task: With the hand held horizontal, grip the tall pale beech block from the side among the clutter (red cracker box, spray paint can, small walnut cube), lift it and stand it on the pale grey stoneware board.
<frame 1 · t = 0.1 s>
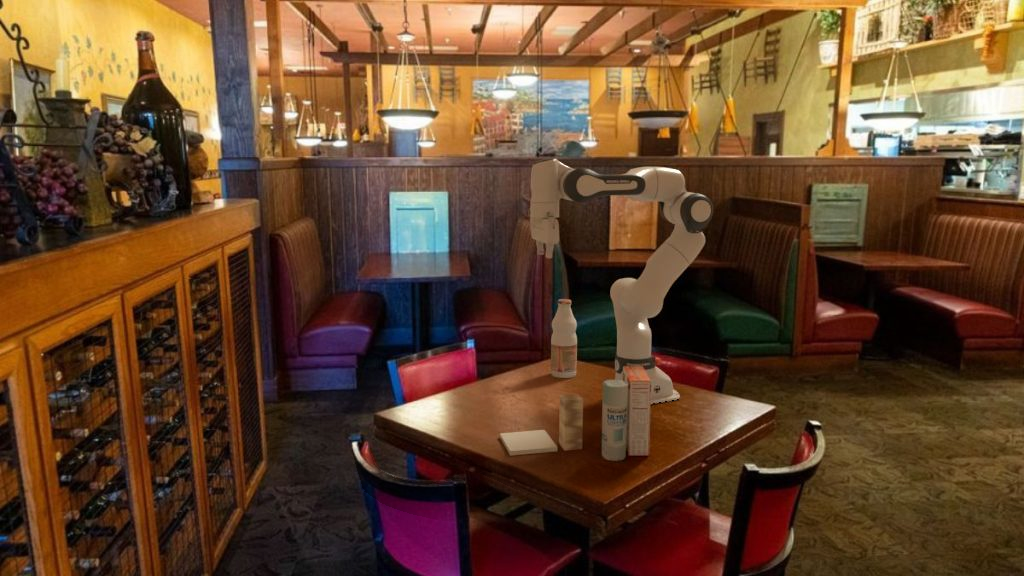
hand: (544, 256, 220), 48 cm above the table, tool pointing down, fingers open, 8 cm apart
board: (527, 444, 194), on the table
spray paint can: (613, 456, 186), on the table
cracker box: (634, 447, 193), on the table
fruit juice: (563, 375, 259), on the table
walnut cube: (615, 431, 204), on the table
beech block: (570, 446, 193), on the table
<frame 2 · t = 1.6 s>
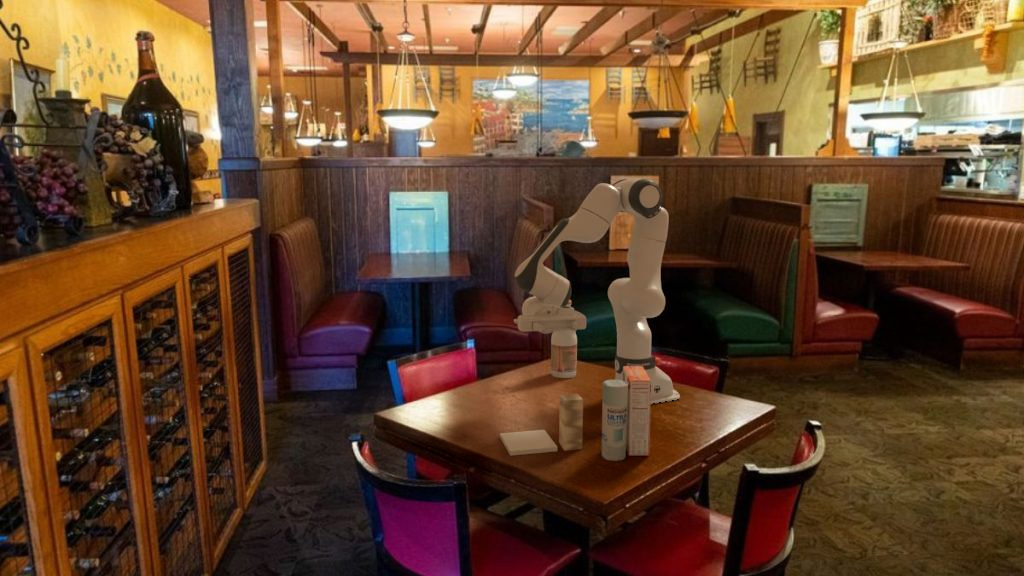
hand: (559, 328, 199), 30 cm above the table, tool horizontal, fingers open, 8 cm apart
nothing on the table moved.
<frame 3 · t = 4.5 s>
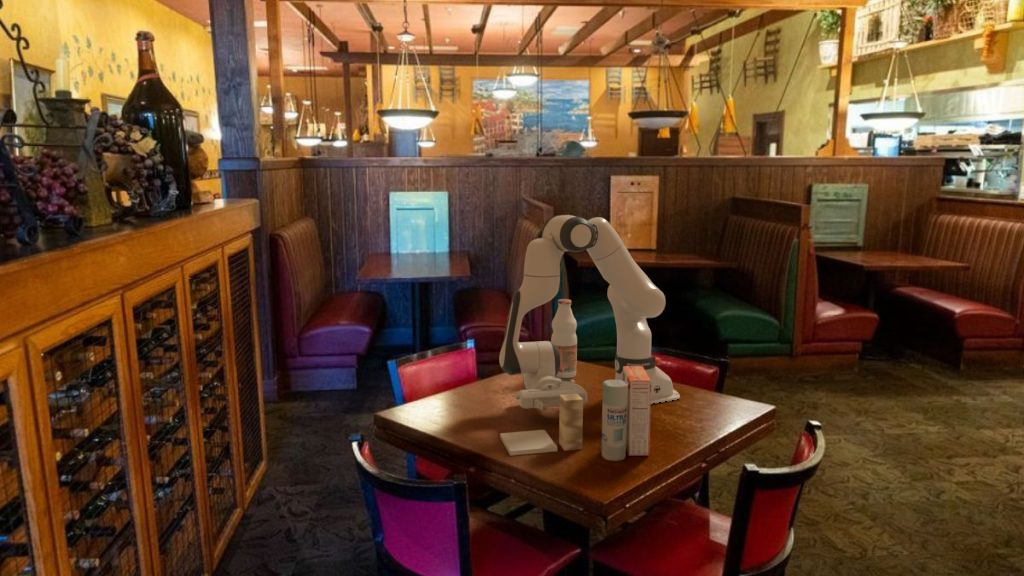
hand: (560, 406, 201), 8 cm above the table, tool horizontal, fingers open, 8 cm apart
nothing on the table moved.
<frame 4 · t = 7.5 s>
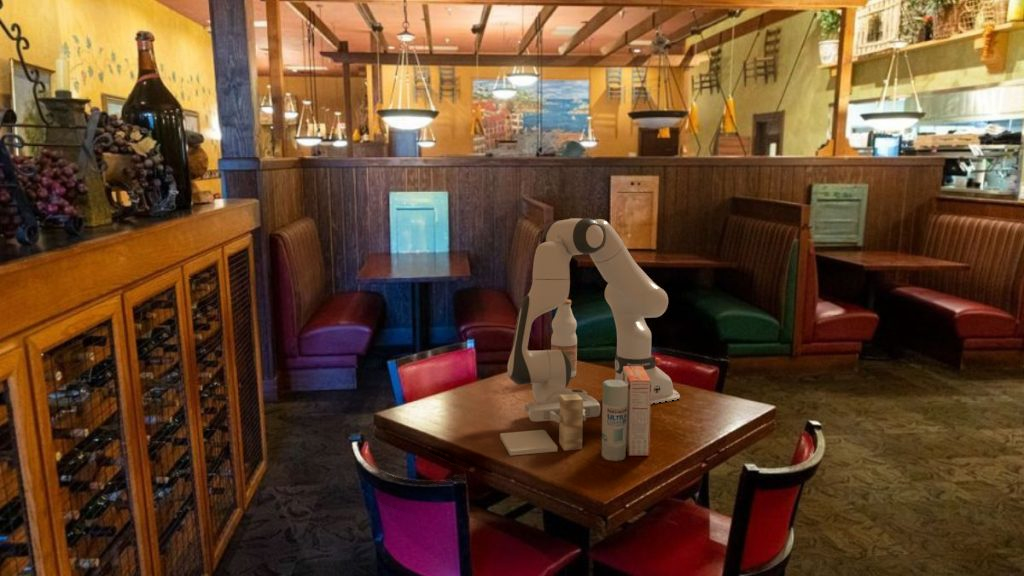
hand: (572, 419, 191), 8 cm above the table, tool horizontal, fingers closed on beech block, 5 cm apart
beech block: (570, 446, 193), on the table, touching gripper
everything else where it was.
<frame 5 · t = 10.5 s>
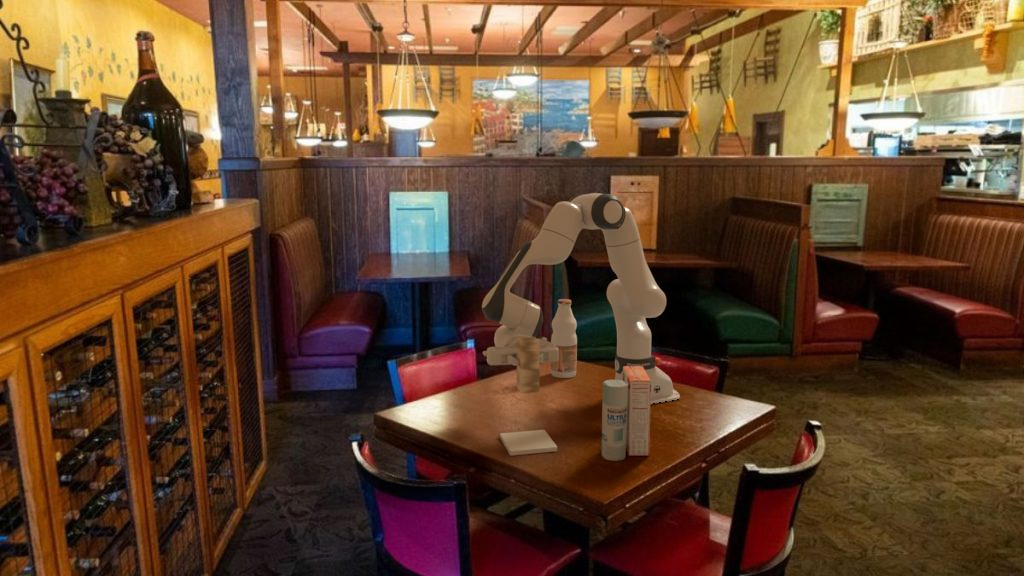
hand: (528, 362, 189), 24 cm above the table, tool horizontal, fingers closed on beech block, 5 cm apart
beech block: (528, 389, 192), point 16 cm above the table, touching gripper
everything else where it was.
when the fingers open (10 cm above the table, at t = 13.6 s): beech block drops 1 cm, resting on board.
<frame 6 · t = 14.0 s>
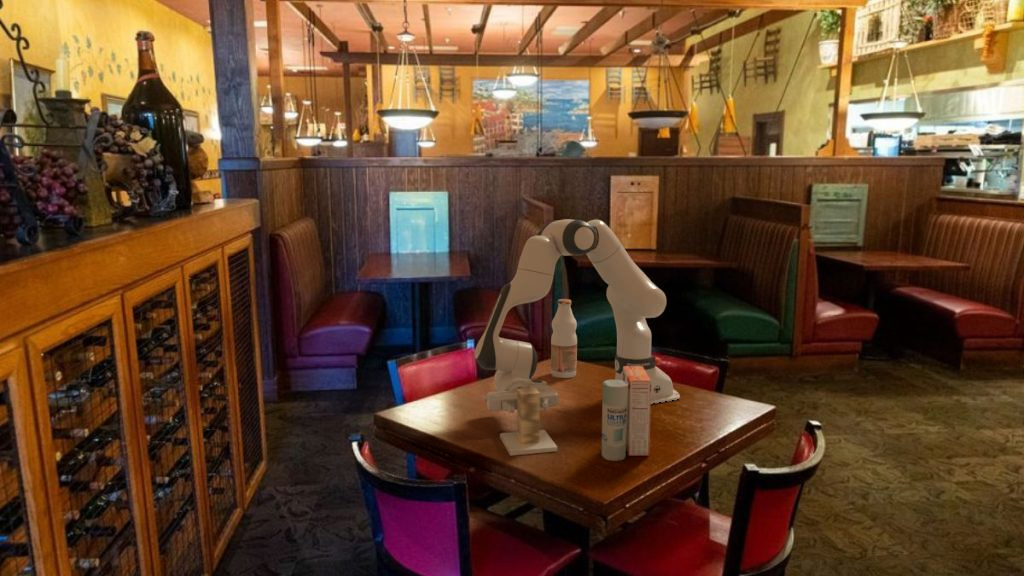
hand: (528, 408, 192), 10 cm above the table, tool horizontal, fingers open, 8 cm apart
beech block: (528, 439, 194), point 1 cm above the table, touching board
everything else where it was.
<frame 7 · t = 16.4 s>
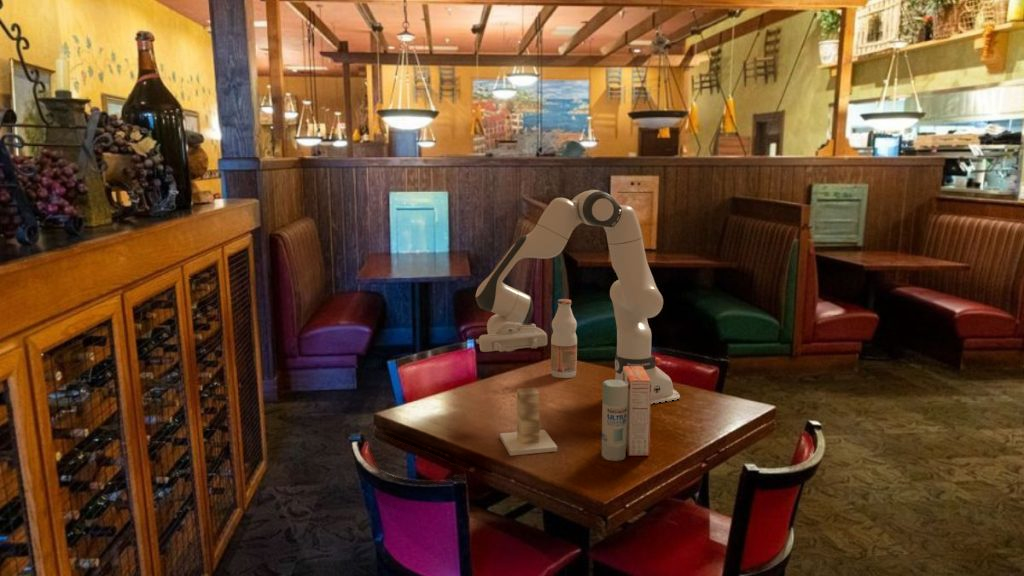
hand: (518, 347, 202), 24 cm above the table, tool horizontal, fingers open, 8 cm apart
nothing on the table moved.
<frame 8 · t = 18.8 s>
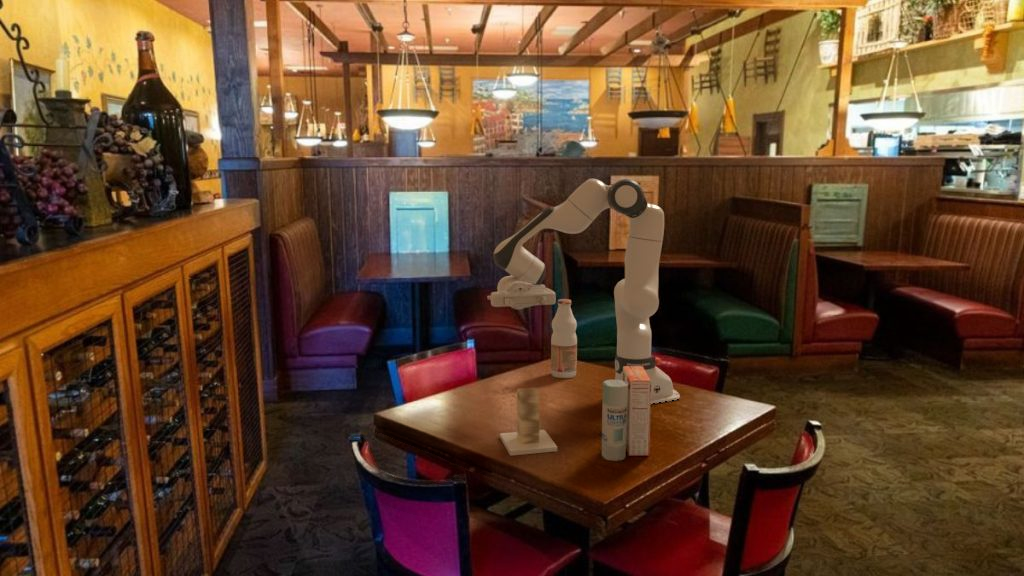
hand: (528, 303, 212), 35 cm above the table, tool horizontal, fingers open, 8 cm apart
nothing on the table moved.
at the end: beech block inside the target area on the board (0.0 cm from its centre), point 1.2 cm above the board's base; beech block tilted 0°; the gripper is holding nothing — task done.
